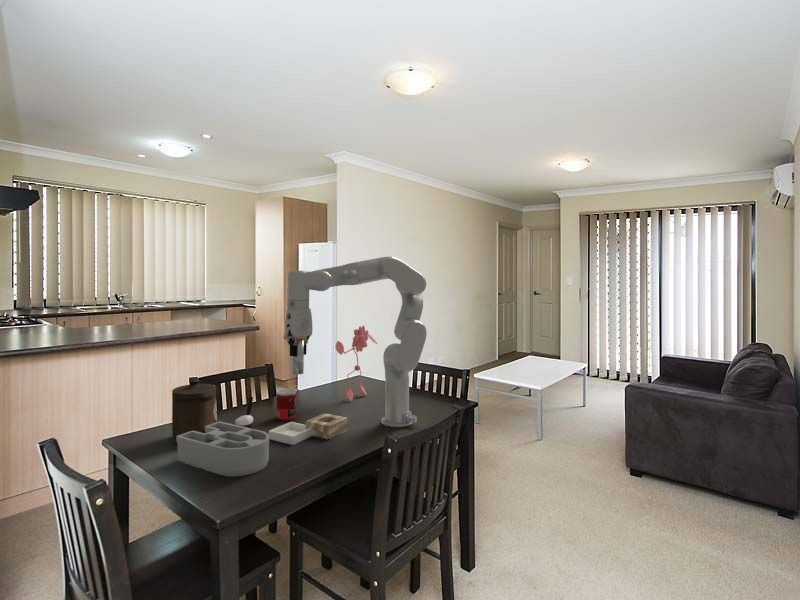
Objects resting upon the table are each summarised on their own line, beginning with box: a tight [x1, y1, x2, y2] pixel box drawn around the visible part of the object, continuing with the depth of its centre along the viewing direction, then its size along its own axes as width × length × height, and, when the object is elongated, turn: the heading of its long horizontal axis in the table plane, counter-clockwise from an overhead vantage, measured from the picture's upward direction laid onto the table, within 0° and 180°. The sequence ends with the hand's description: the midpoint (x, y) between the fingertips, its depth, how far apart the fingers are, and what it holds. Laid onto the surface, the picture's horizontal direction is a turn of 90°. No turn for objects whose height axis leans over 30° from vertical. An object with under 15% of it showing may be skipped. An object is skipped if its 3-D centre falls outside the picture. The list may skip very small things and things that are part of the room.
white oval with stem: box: [234, 396, 254, 429], centre depth 172 cm, size 10×6×12 cm, turn 141°
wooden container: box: [171, 377, 218, 444], centre depth 166 cm, size 15×15×22 cm
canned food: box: [276, 389, 297, 422], centre depth 188 cm, size 8×8×11 cm
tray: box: [268, 421, 314, 446], centre depth 167 cm, size 12×12×3 cm
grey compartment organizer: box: [176, 421, 270, 477], centre depth 145 cm, size 17×28×9 cm, turn 62°
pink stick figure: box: [335, 325, 378, 403], centre depth 215 cm, size 15×26×35 cm, turn 146°
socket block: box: [305, 412, 349, 440], centre depth 172 cm, size 11×11×5 cm
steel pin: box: [291, 336, 306, 375], centre depth 166 cm, size 5×5×14 cm
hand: (298, 354), depth 166 cm, fingers closed on steel pin, 4 cm apart
